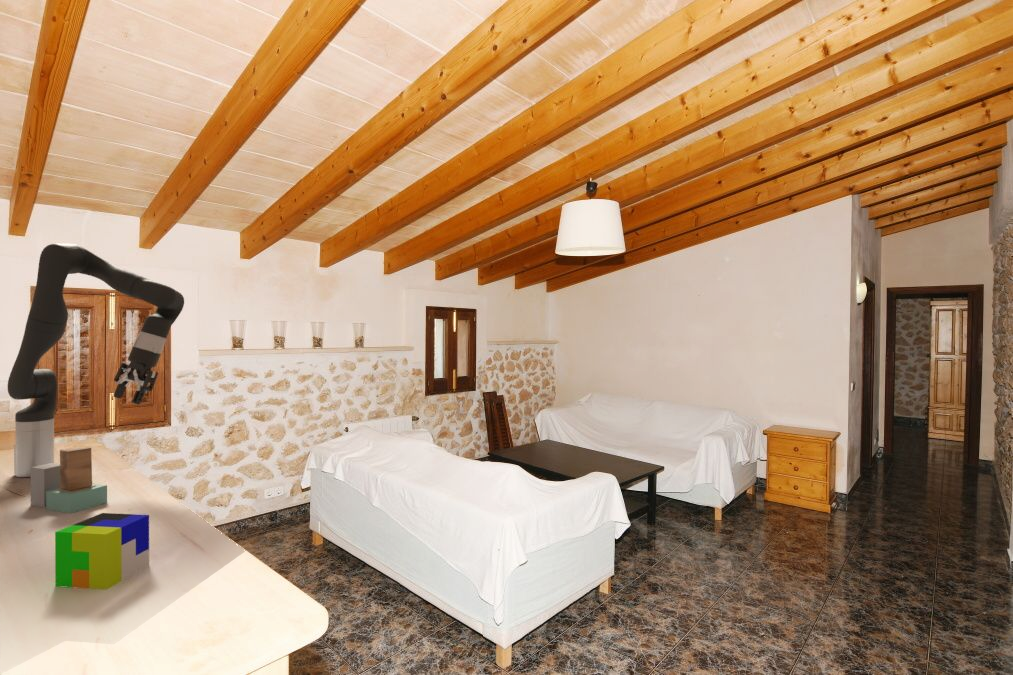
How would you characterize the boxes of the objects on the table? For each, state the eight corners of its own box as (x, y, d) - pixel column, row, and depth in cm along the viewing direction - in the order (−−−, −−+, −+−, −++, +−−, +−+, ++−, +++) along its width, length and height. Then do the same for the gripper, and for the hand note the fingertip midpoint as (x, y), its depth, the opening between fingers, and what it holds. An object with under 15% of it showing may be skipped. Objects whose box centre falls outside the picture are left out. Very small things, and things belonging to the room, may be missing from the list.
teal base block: (46, 510, 137) (46, 490, 137) (84, 499, 145) (83, 481, 145) (70, 514, 134) (70, 494, 134) (107, 503, 142) (107, 484, 142)
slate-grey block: (30, 505, 140) (30, 467, 139) (51, 499, 144) (51, 462, 144) (44, 507, 138) (44, 469, 138) (65, 501, 143) (64, 464, 143)
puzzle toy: (149, 565, 105) (148, 515, 105) (106, 589, 95) (106, 534, 95) (102, 562, 106) (102, 512, 106) (55, 586, 96) (55, 531, 96)
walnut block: (60, 488, 139) (59, 449, 139) (83, 483, 143) (82, 446, 143) (69, 490, 136) (68, 451, 136) (92, 485, 140) (91, 447, 140)
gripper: (120, 342, 162) (98, 393, 159) (151, 349, 157) (129, 403, 153) (143, 348, 169) (123, 398, 165) (174, 356, 163) (153, 407, 160)
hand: (126, 400), depth 159 cm, fingers open, 8 cm apart
